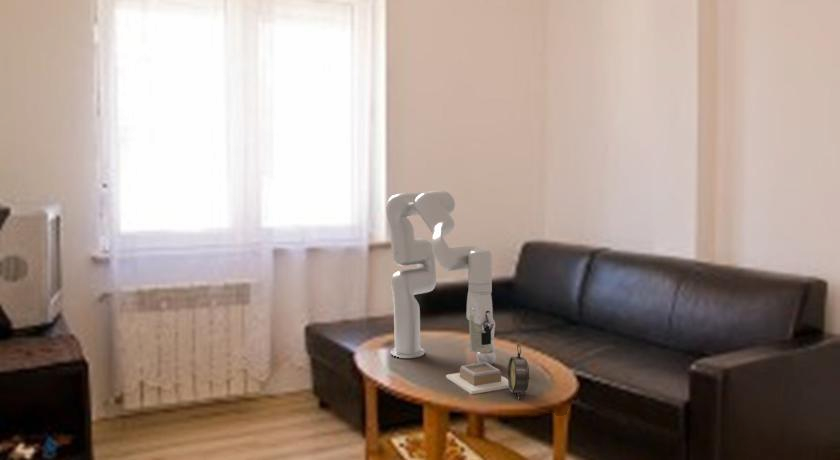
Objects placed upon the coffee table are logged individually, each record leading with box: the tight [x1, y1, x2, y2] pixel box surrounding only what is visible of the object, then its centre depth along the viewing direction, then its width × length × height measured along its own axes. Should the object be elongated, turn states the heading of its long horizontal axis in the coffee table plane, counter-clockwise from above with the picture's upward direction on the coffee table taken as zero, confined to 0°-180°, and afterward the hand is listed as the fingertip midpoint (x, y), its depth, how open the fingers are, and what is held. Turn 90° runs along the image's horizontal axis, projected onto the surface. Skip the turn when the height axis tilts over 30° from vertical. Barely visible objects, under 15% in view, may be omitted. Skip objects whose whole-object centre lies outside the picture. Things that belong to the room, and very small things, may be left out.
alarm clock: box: [507, 343, 530, 398], centre depth 232 cm, size 11×5×16 cm, turn 5°
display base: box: [445, 362, 509, 395], centre depth 246 cm, size 18×16×5 cm
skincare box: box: [468, 315, 491, 353], centre depth 244 cm, size 6×4×12 cm
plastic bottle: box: [476, 318, 497, 366], centre depth 264 cm, size 6×7×20 cm
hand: (480, 341), depth 244 cm, fingers closed on skincare box, 7 cm apart
